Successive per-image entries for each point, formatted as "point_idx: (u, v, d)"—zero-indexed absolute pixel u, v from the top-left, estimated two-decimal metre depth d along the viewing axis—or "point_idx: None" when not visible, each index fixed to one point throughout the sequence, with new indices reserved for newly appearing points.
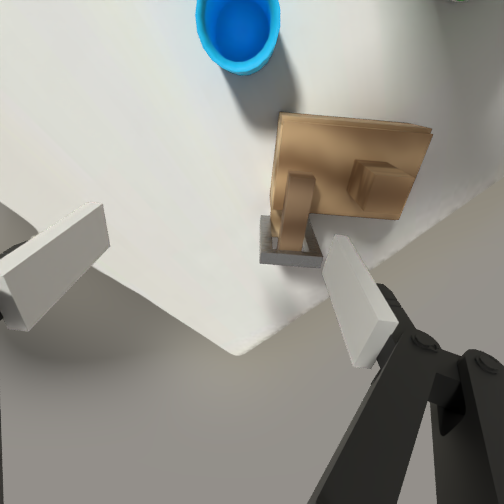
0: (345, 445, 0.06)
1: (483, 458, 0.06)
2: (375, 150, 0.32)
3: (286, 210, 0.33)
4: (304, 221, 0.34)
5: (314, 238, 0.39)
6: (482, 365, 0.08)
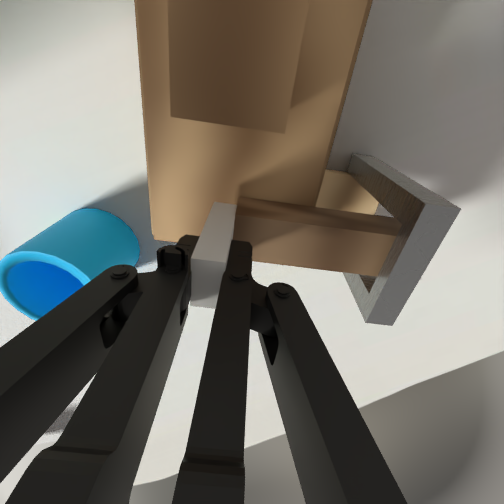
0: (198, 392, 0.06)
1: (295, 372, 0.07)
2: None
3: (296, 264, 0.17)
4: (327, 232, 0.16)
5: (382, 178, 0.17)
6: (279, 294, 0.10)
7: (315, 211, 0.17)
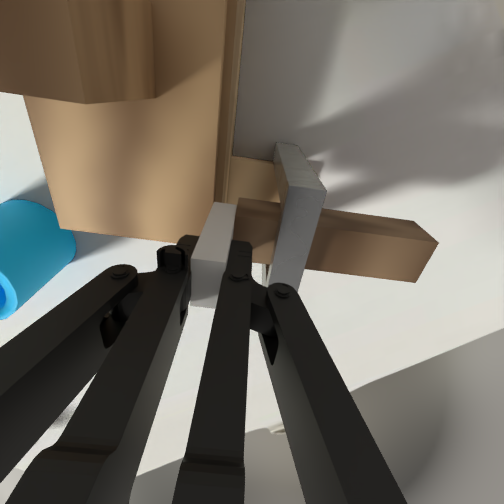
0: (198, 392, 0.06)
1: (295, 372, 0.07)
2: None
3: None
4: (328, 233, 0.15)
5: (280, 164, 0.17)
6: (279, 294, 0.10)
7: None
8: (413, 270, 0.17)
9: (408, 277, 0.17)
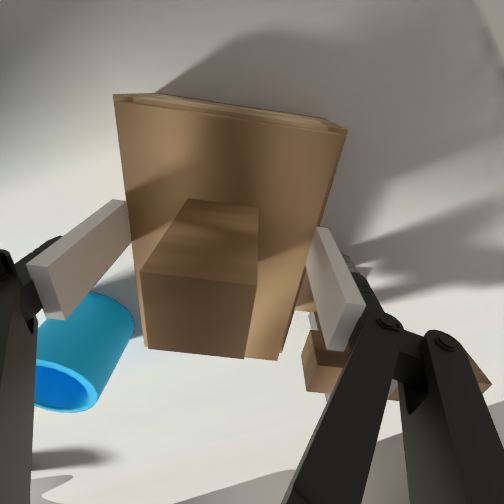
0: (319, 428, 0.06)
1: (446, 432, 0.07)
2: (167, 224, 0.16)
3: None
4: None
5: None
6: (440, 344, 0.09)
7: None
8: None
9: None
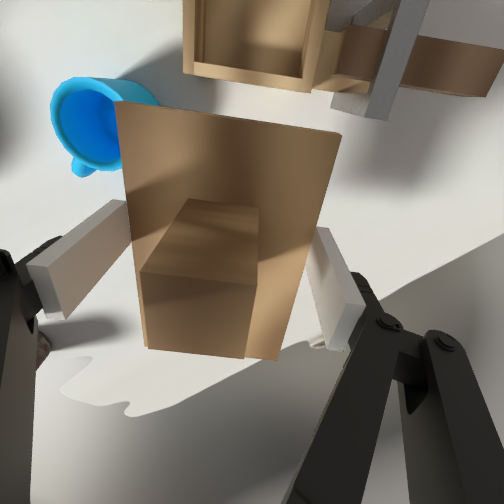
0: (319, 427, 0.06)
1: (445, 432, 0.07)
2: (167, 224, 0.16)
3: None
4: (422, 42, 0.19)
5: None
6: (440, 344, 0.09)
7: None
8: (485, 82, 0.21)
9: (480, 91, 0.21)
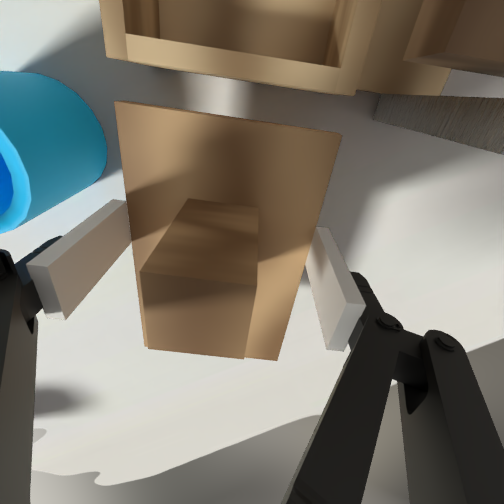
0: (319, 428, 0.06)
1: (446, 432, 0.07)
2: (167, 224, 0.16)
3: None
4: None
5: None
6: (440, 344, 0.09)
7: None
8: None
9: None
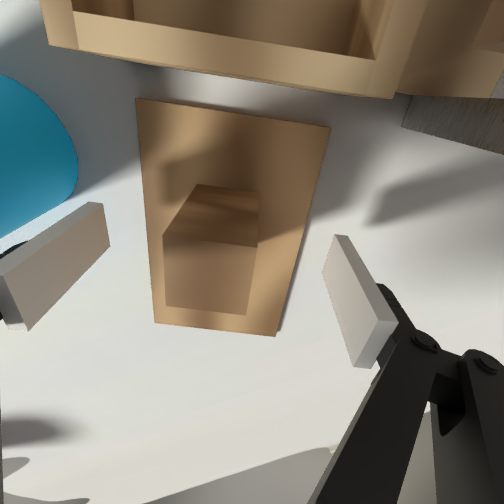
0: (345, 445, 0.06)
1: (484, 458, 0.06)
2: (178, 207, 0.18)
3: None
4: None
5: None
6: (481, 365, 0.08)
7: None
8: None
9: None
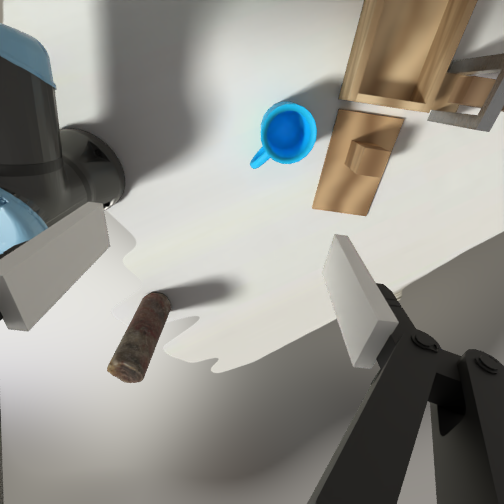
0: (345, 445, 0.06)
1: (483, 458, 0.06)
2: (341, 150, 0.47)
3: None
4: None
5: (484, 58, 0.34)
6: (481, 365, 0.08)
7: None
8: None
9: None
